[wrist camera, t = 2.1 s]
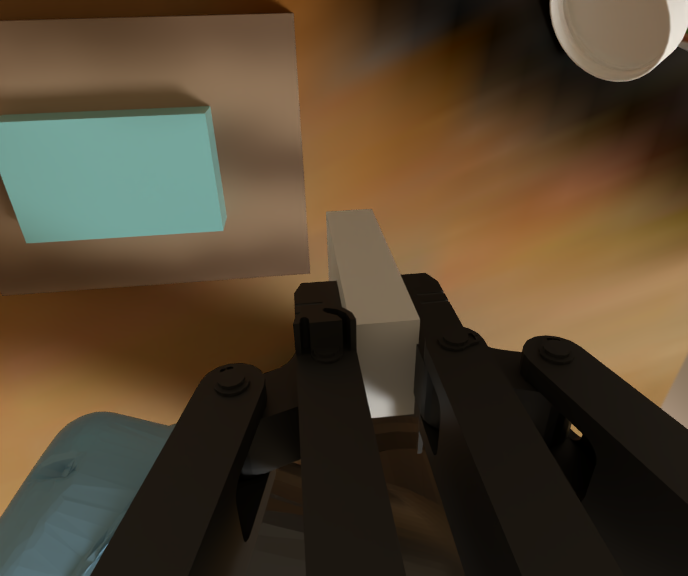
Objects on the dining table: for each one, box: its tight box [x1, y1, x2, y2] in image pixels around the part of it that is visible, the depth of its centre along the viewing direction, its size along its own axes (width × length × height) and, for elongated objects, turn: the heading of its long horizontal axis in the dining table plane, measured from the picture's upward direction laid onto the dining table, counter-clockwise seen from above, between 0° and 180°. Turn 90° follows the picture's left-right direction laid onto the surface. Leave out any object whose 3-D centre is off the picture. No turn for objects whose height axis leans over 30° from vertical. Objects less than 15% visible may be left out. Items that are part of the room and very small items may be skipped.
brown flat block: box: [0, 13, 310, 296], centre depth 27 cm, size 14×18×3 cm
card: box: [0, 106, 227, 243], centre depth 25 cm, size 6×10×2 cm, turn 91°
